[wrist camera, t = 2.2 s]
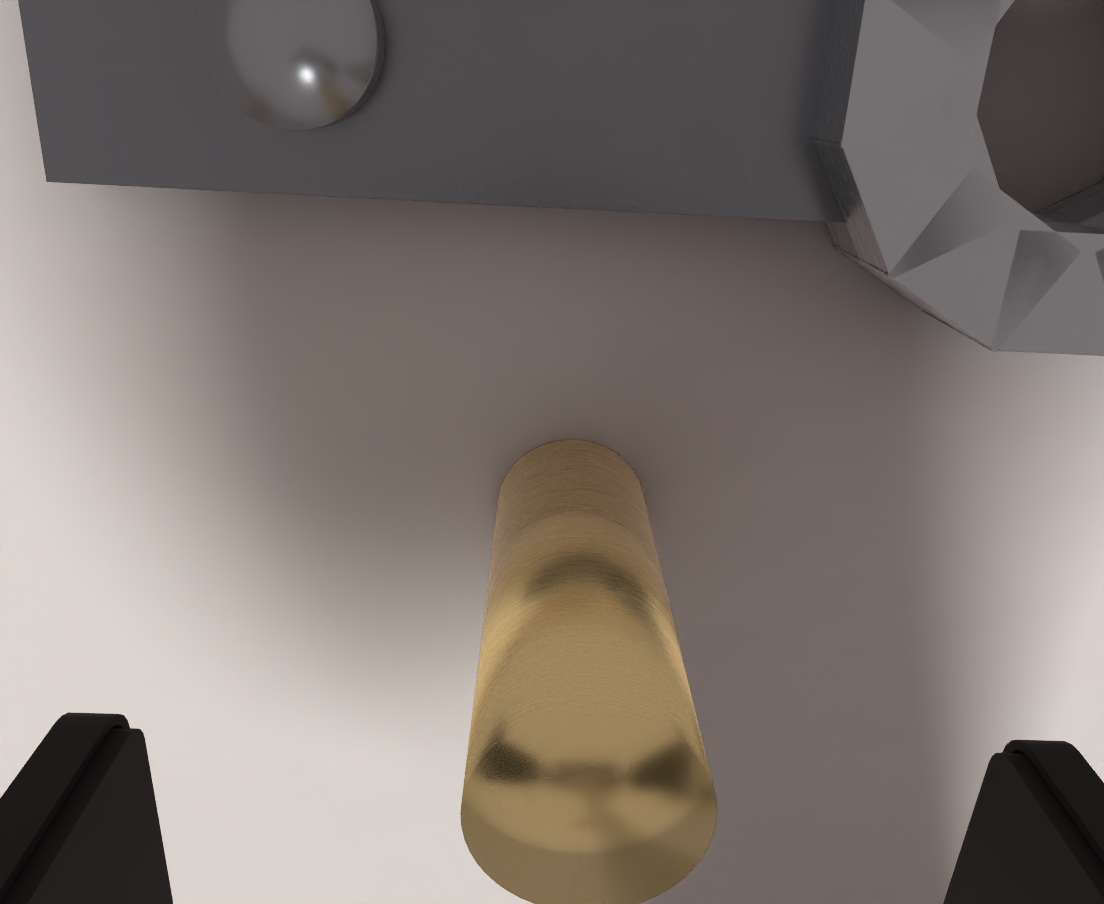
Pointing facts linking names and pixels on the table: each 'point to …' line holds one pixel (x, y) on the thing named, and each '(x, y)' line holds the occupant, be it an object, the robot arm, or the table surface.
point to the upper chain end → (947, 181)
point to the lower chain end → (452, 102)
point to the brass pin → (582, 695)
